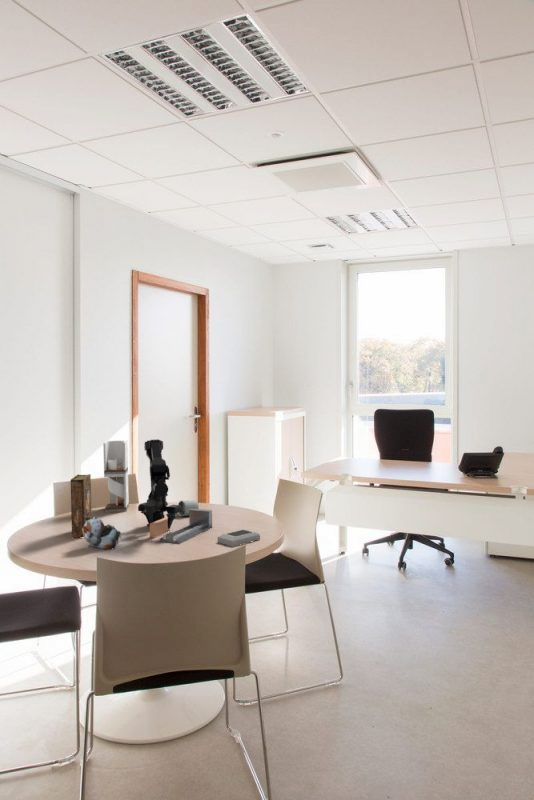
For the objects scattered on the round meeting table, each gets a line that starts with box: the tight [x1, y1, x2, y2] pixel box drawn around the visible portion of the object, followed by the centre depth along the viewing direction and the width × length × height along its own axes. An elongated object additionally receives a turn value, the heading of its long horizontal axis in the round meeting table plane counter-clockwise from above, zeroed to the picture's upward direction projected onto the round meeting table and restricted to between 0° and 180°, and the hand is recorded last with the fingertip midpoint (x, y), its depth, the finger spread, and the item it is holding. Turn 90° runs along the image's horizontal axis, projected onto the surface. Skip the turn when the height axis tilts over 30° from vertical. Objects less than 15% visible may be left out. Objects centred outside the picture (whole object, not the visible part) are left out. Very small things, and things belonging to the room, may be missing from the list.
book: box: [70, 473, 93, 539], centre depth 275 cm, size 16×6×25 cm, turn 5°
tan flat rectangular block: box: [149, 517, 171, 538], centre depth 273 cm, size 2×12×6 cm, turn 157°
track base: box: [158, 508, 213, 544], centre depth 272 cm, size 10×28×8 cm, turn 157°
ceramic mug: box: [177, 499, 200, 517], centre depth 311 cm, size 11×8×8 cm
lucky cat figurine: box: [82, 516, 121, 551], centre depth 254 cm, size 15×12×14 cm
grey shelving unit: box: [103, 440, 130, 513], centre depth 324 cm, size 11×11×35 cm
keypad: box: [217, 528, 261, 548], centre depth 260 cm, size 10×4×15 cm
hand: (159, 527), depth 273 cm, fingers open, 9 cm apart
